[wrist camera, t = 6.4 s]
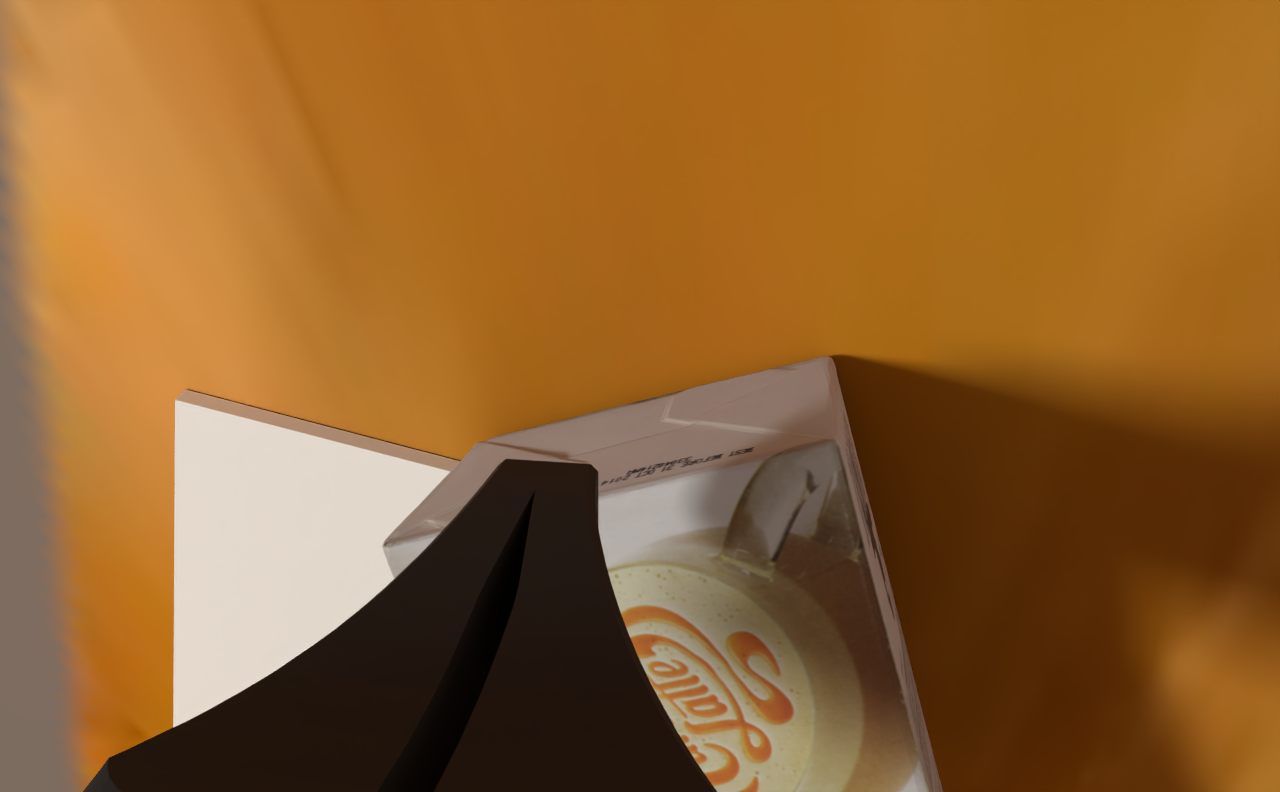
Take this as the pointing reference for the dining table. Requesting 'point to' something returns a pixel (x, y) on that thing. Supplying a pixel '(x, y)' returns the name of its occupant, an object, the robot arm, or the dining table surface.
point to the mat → (275, 538)
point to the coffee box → (740, 577)
